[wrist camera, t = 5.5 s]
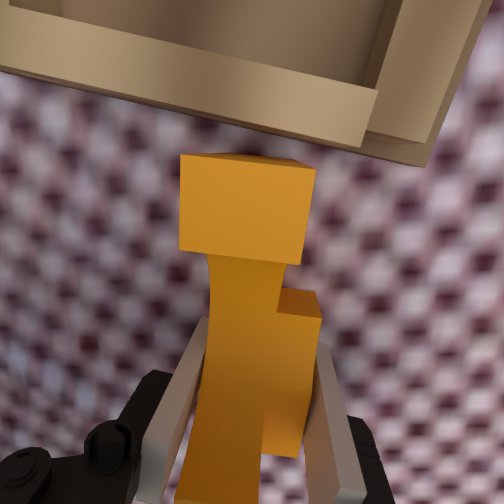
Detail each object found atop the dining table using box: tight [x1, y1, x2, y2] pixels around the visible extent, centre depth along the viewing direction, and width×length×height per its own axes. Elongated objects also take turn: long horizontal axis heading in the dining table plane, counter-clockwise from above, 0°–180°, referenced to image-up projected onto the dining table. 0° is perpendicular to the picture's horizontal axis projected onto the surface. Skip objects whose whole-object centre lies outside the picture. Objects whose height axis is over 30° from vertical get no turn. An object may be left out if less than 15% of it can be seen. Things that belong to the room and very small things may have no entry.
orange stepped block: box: [174, 153, 322, 504], centre depth 10 cm, size 12×4×6 cm, turn 174°
